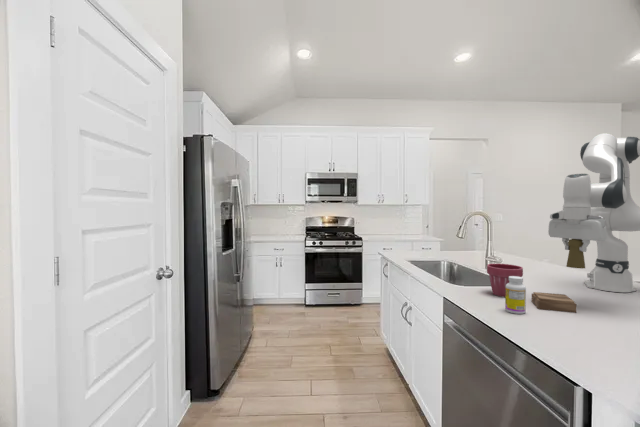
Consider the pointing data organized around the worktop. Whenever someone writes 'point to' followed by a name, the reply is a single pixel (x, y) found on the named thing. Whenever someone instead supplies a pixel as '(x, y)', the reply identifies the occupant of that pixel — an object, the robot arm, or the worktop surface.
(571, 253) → the cork
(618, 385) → the worktop surface
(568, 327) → the worktop surface
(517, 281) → the supplement bottle
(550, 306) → the walnut stand
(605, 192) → the robot arm
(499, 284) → the plant pot
